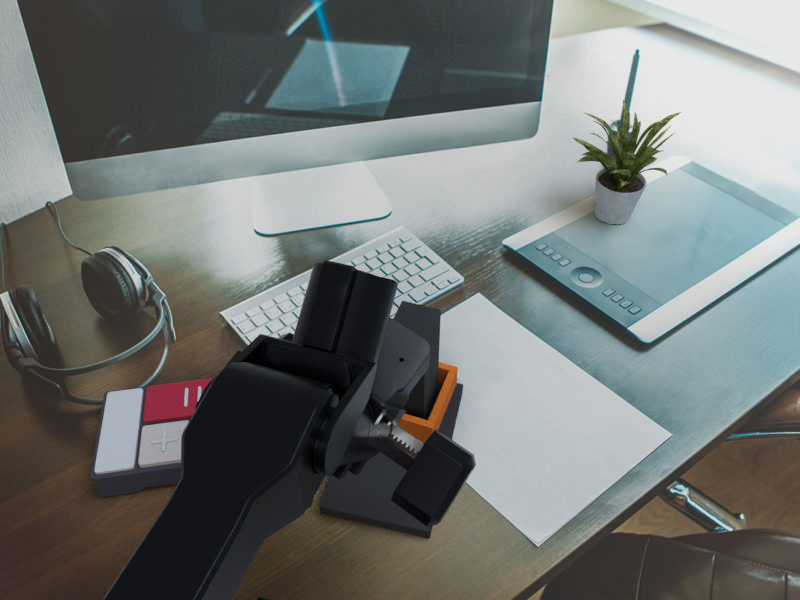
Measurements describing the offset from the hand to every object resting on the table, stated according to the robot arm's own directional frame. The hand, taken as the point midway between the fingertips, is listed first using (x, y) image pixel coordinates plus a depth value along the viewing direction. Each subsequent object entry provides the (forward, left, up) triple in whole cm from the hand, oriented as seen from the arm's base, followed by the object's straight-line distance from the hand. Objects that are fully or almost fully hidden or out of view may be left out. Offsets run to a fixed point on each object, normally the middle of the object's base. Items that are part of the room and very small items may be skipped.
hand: (382, 424), depth 59 cm
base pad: (+4, 0, -10) cm, 11 cm away
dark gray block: (+9, -1, -8) cm, 12 cm away
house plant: (+53, -22, -10) cm, 58 cm away
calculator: (0, +23, -10) cm, 25 cm away
